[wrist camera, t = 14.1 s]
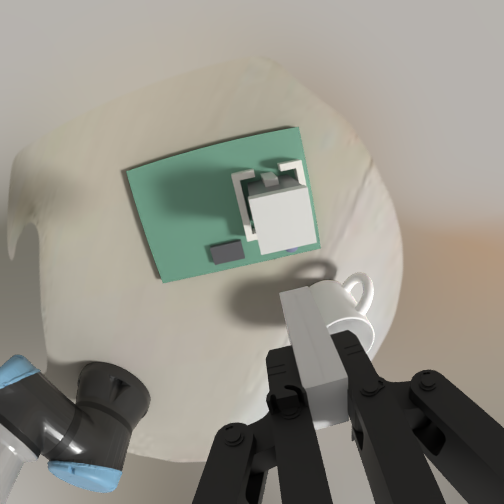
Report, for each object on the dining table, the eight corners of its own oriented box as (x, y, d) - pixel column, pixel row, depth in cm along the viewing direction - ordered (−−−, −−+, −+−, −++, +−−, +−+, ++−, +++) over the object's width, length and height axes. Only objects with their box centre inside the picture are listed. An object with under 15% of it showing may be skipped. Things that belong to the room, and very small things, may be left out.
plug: (255, 222, 37) (261, 255, 27) (245, 177, 35) (246, 193, 25) (295, 213, 37) (316, 242, 27) (286, 168, 35) (306, 180, 25)
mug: (334, 247, 40) (360, 280, 31) (374, 273, 42) (405, 308, 32) (286, 311, 44) (297, 356, 34) (328, 332, 46) (345, 375, 36)
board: (164, 279, 41) (160, 289, 38) (129, 170, 35) (120, 173, 32) (318, 245, 40) (324, 253, 37) (296, 127, 34) (301, 126, 31)
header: (247, 236, 38) (247, 241, 36) (231, 173, 35) (231, 175, 33) (309, 222, 37) (313, 226, 35) (297, 158, 34) (301, 160, 32)
